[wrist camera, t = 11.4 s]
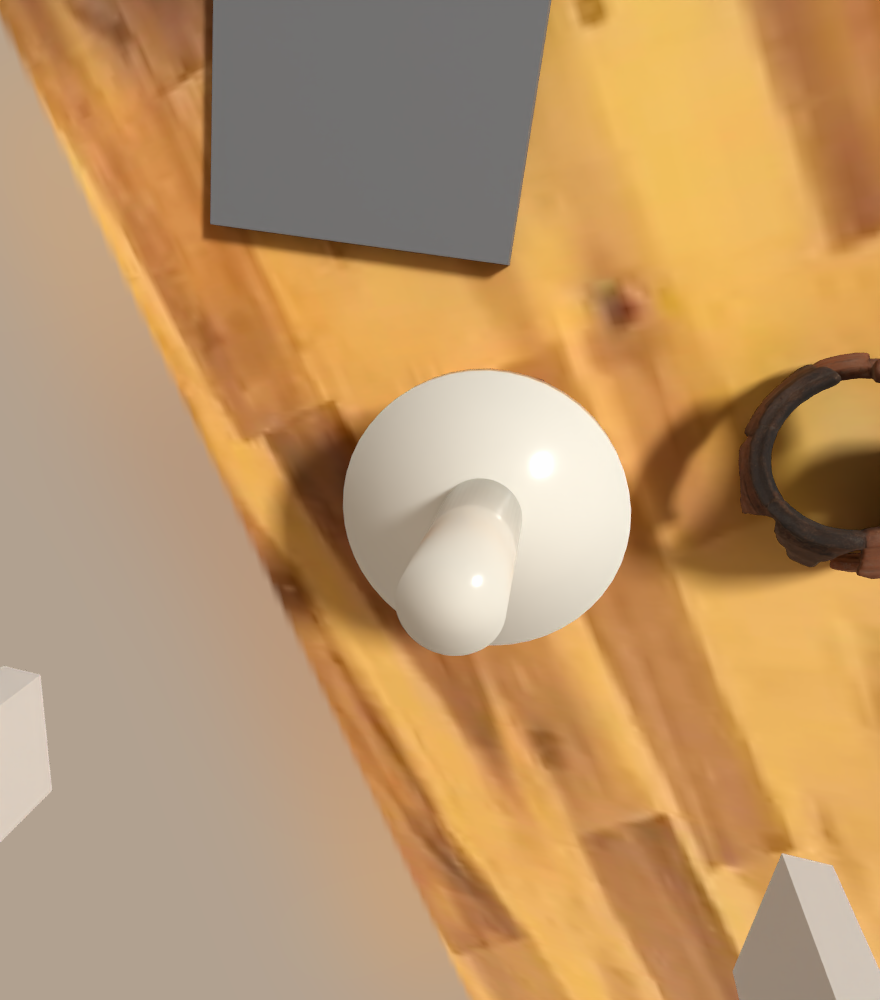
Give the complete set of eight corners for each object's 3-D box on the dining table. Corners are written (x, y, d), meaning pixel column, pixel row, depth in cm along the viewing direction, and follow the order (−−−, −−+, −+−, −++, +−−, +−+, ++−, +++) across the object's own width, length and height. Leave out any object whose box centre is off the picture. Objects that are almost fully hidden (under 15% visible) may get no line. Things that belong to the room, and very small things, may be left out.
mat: (227, -143, 27) (215, -158, 26) (570, -122, 25) (570, -138, 24) (220, 225, 31) (210, 223, 30) (509, 265, 30) (507, 264, 29)
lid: (365, 345, 27) (274, 373, 18) (661, 397, 25) (710, 452, 17) (338, 602, 31) (253, 721, 22) (592, 659, 29) (603, 810, 21)
